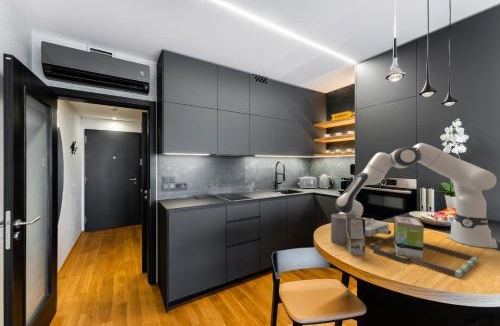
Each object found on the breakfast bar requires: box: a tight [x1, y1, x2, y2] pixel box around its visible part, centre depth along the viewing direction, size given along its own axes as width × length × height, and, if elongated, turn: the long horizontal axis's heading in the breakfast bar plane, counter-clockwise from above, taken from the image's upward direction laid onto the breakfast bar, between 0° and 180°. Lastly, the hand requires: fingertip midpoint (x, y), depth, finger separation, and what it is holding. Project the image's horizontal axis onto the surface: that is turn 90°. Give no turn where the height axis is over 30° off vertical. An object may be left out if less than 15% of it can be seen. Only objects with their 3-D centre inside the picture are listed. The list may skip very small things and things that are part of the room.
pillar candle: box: [330, 213, 346, 246], centre depth 115 cm, size 10×10×15 cm
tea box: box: [393, 215, 425, 259], centre depth 103 cm, size 15×10×15 cm, turn 151°
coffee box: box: [345, 215, 366, 256], centre depth 103 cm, size 9×6×16 cm
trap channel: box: [369, 234, 479, 279], centre depth 98 cm, size 28×32×2 cm
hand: (389, 232), depth 110 cm, fingers closed
